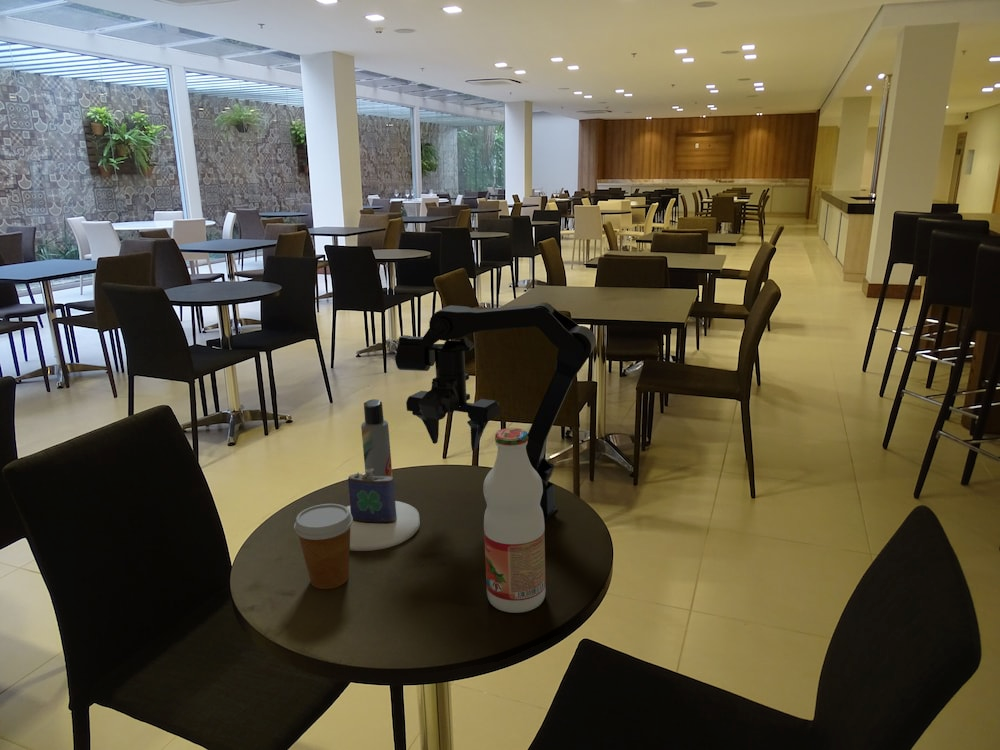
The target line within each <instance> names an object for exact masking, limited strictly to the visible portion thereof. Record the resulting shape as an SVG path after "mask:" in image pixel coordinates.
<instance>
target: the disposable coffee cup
mask: <svg viewBox="0 0 1000 750" xmlns="http://www.w3.org/2000/svg"><path fill="white" fill-rule="evenodd" d="M352 521H353V517H352V515H351V514H350V512H349V510H348V508H347V506H346V505H342V504H338V503H323V504H318V505H313V506H311V507H308V508H305V509H303V510H302V511H300V512H299V513H298V514H297V515H296V517H295V522H294V524H293V529H294V531H295V532H296V534H297V536H298V538H299V542H300V546H301V550H302V554H303V558H304V561H305V565H306V568H307V573H308V576H309V580H310V584H311V585H312V587H313V588H316V589H320V590H331V589H332V590H333V589H335V588H338V587H340V586H342V585H344V584H345V583H346V582H347V581H348V580H349V577H350V574H349V573H350V572H349V571H350V554H351V553H350V551H351V550H350V527H351V524H352Z"/></svg>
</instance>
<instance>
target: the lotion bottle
mask: <svg viewBox="0 0 1000 750" xmlns="http://www.w3.org/2000/svg"><path fill="white" fill-rule="evenodd" d="M383 409H384V408H383V402H382V401H381V400H379V399H369V400H367V401H364V402H363V410H364V411H363V413H364V422H362V423H361V425H360V428H361V438H362V439H361V440H362V449H363V459H364V460H363V461H364V462H363V463H364V473H365V474H366V472H365V470H366V469H370V468H372V469H374V471H373V476H391V477H392V478H393V467H392V456H391V455H392V454H391V442H390V431H389V429H390V427H389V422H388V420H386V419H384V410H383ZM370 470H371V469H370Z"/></svg>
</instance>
